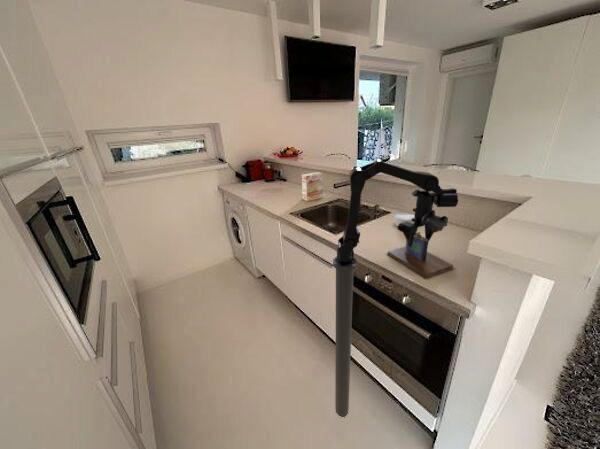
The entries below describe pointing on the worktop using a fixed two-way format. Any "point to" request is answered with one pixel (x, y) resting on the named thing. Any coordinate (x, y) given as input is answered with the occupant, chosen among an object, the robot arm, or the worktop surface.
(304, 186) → the coffeecake box
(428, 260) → the serving board
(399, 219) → the ramekin
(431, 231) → the robot arm
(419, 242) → the flask
